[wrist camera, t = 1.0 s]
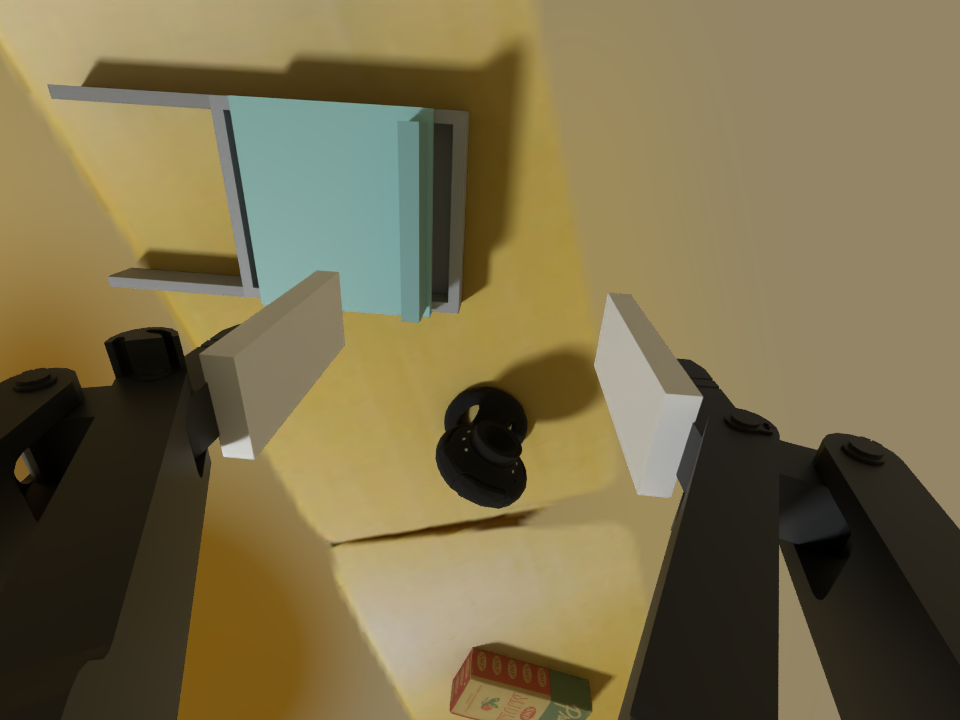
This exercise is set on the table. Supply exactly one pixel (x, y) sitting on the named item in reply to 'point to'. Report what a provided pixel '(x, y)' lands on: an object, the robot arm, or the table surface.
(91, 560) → the robot arm
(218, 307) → the table surface
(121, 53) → the table surface
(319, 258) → the lid
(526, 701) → the carton
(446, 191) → the tray
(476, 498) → the webcam
